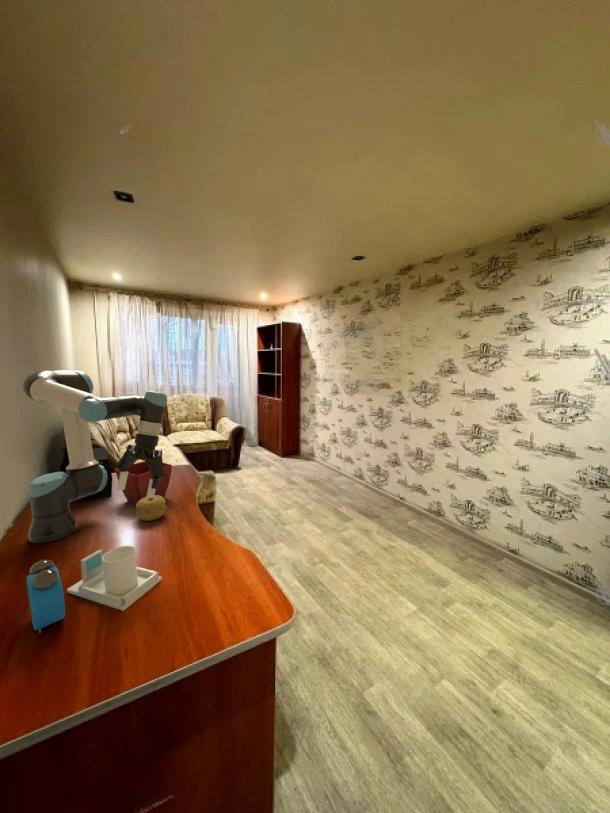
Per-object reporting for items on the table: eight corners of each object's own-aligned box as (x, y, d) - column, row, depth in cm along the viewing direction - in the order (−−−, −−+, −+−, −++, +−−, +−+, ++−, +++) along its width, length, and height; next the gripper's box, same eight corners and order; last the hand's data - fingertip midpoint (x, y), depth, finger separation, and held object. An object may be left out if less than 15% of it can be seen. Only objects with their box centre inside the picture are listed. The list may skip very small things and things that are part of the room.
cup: (110, 600, 86) (106, 566, 85) (98, 581, 95) (95, 549, 93) (142, 585, 92) (139, 553, 91) (128, 568, 100) (125, 538, 99)
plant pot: (175, 496, 161) (173, 464, 159) (138, 510, 145) (135, 475, 143) (153, 489, 172) (151, 459, 170) (116, 502, 156) (113, 468, 154)
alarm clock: (30, 614, 83) (23, 560, 82) (59, 601, 88) (54, 551, 86) (36, 643, 74) (29, 584, 73) (68, 627, 79) (62, 571, 77)
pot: (133, 517, 139) (132, 495, 137) (161, 509, 146) (160, 488, 145) (140, 527, 130) (139, 503, 129) (170, 518, 137) (168, 496, 136)
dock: (67, 592, 92) (64, 566, 91) (109, 565, 104) (107, 542, 103) (123, 610, 84) (121, 582, 83) (161, 579, 96) (159, 555, 95)
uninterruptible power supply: (109, 479, 190) (106, 446, 187) (114, 496, 162) (111, 459, 160) (75, 485, 180) (72, 451, 178) (75, 505, 153) (70, 465, 151)
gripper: (183, 439, 113) (170, 499, 111) (130, 430, 121) (117, 486, 119) (168, 438, 106) (154, 502, 104) (113, 428, 114) (99, 487, 112)
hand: (134, 493), depth 111 cm, fingers open, 13 cm apart
